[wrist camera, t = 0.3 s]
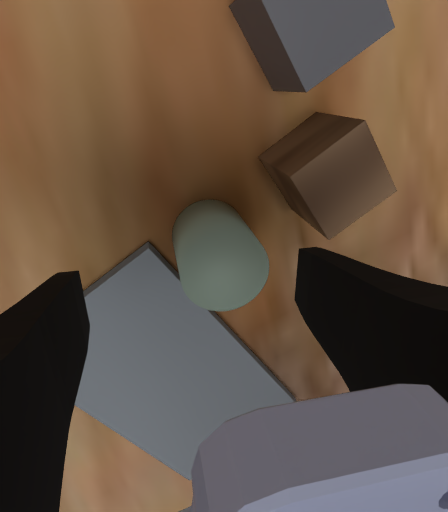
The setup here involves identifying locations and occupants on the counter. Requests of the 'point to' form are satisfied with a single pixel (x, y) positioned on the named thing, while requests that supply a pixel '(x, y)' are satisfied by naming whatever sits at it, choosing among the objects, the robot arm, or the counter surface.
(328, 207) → the walnut block
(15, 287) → the counter surface
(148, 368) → the slate mat
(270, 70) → the charcoal cube
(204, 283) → the sage cylinder
